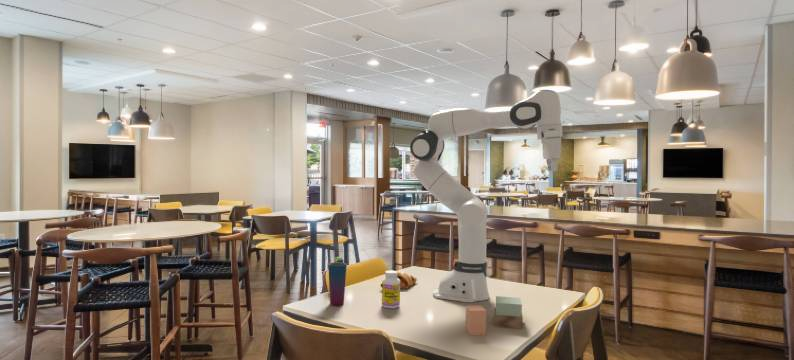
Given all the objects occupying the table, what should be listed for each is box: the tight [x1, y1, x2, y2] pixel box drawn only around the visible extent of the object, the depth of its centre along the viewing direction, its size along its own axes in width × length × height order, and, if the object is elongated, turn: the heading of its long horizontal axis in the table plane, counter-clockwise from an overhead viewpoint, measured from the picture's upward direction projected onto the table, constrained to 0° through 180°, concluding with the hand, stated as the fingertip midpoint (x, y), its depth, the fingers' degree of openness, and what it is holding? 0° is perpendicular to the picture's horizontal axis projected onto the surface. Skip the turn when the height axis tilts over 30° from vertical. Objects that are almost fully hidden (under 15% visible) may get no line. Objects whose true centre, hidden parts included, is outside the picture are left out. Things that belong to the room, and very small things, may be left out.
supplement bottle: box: [381, 269, 401, 309], centre depth 165 cm, size 7×7×13 cm
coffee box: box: [334, 256, 344, 263], centre depth 188 cm, size 8×3×13 cm, turn 15°
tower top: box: [495, 295, 523, 317], centre depth 149 cm, size 8×8×4 cm
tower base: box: [493, 306, 524, 330], centre depth 149 cm, size 9×9×4 cm
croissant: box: [380, 271, 418, 291], centre depth 193 cm, size 21×10×8 cm, turn 136°
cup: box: [327, 261, 348, 307], centre depth 167 cm, size 7×7×15 cm
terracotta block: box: [465, 305, 487, 336], centre depth 140 cm, size 5×5×8 cm
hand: (552, 171), depth 166 cm, fingers open, 8 cm apart
